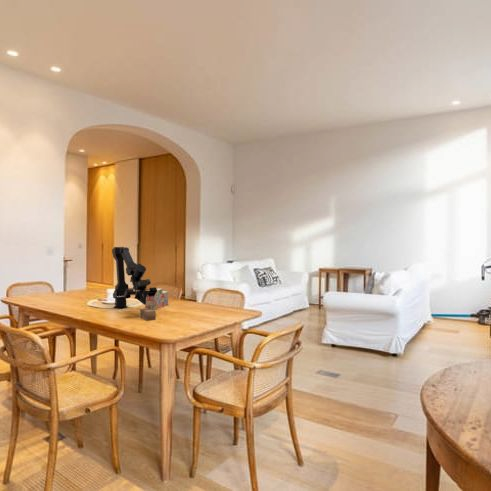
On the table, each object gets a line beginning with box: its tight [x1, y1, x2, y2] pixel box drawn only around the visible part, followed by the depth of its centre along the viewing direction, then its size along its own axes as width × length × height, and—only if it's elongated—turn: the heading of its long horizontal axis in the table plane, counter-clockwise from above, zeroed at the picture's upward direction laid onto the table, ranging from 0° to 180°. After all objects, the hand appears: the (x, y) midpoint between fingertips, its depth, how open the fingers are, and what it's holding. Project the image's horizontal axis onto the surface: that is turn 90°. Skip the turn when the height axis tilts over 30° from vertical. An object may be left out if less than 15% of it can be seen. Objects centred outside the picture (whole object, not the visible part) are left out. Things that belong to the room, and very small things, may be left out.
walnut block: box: [139, 308, 157, 322], centre depth 221 cm, size 5×5×10 cm
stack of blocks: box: [144, 287, 169, 311], centre depth 257 cm, size 21×6×12 cm, turn 167°
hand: (145, 304), depth 224 cm, fingers closed
